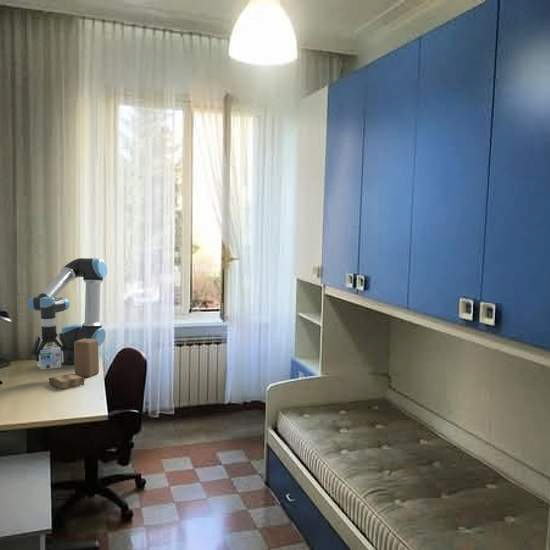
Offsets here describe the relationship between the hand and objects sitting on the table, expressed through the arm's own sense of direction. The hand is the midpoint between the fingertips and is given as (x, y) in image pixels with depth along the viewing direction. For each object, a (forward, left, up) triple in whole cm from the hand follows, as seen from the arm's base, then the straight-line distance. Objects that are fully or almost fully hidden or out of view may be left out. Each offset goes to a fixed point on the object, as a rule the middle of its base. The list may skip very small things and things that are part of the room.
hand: (50, 364), depth 310 cm
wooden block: (-19, +3, -9) cm, 22 cm away
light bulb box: (0, 0, -2) cm, 2 cm away
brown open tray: (-1, +15, -9) cm, 17 cm away
